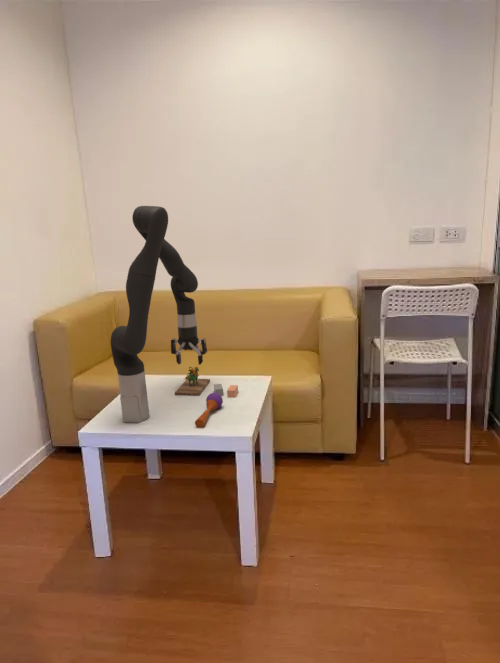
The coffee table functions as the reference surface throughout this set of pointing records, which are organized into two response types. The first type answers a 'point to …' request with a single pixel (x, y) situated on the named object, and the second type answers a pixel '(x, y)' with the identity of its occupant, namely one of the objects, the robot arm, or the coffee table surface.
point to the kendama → (209, 408)
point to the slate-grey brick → (218, 389)
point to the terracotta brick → (232, 391)
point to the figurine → (193, 375)
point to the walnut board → (192, 387)
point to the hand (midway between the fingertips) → (189, 364)
